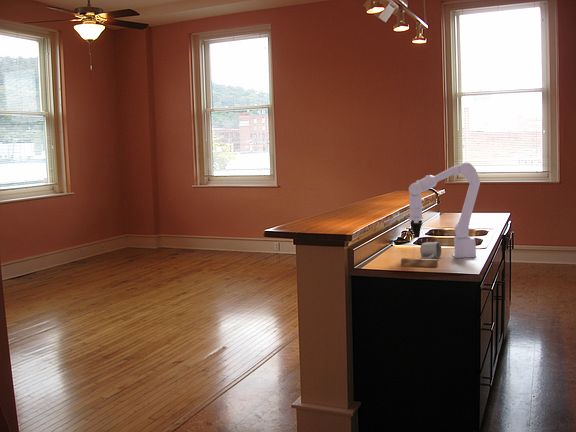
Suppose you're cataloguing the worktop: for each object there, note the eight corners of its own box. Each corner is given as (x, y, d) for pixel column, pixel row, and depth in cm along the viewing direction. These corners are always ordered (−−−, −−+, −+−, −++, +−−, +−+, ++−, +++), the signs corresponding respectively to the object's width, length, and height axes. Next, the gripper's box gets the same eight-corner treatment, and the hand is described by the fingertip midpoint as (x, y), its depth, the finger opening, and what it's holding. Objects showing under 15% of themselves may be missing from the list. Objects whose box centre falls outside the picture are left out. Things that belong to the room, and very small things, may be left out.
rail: (401, 265, 290) (400, 259, 289) (402, 264, 291) (402, 258, 291) (436, 266, 283) (436, 260, 282) (437, 266, 284) (437, 259, 284)
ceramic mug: (425, 256, 312) (425, 240, 312) (442, 256, 308) (441, 240, 307) (417, 260, 304) (416, 243, 303) (433, 260, 299) (433, 244, 298)
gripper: (407, 207, 316) (408, 234, 318) (407, 209, 302) (408, 238, 303) (421, 206, 315) (423, 234, 316) (422, 209, 301) (423, 238, 302)
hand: (416, 236), depth 310 cm, fingers open, 7 cm apart
